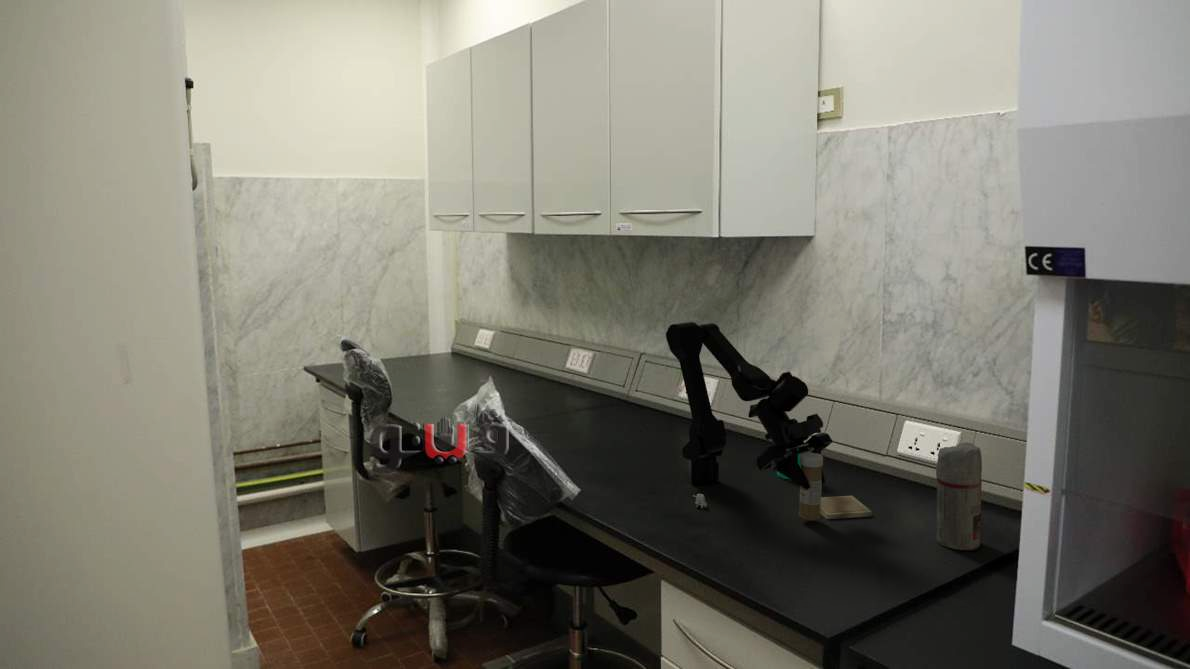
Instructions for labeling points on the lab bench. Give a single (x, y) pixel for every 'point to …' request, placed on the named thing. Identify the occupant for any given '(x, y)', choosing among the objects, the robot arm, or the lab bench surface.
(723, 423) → the robot arm
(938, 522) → the spray can
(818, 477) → the sprinkles bottle
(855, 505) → the rest pad
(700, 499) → the small grey figurine
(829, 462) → the lab bench surface
